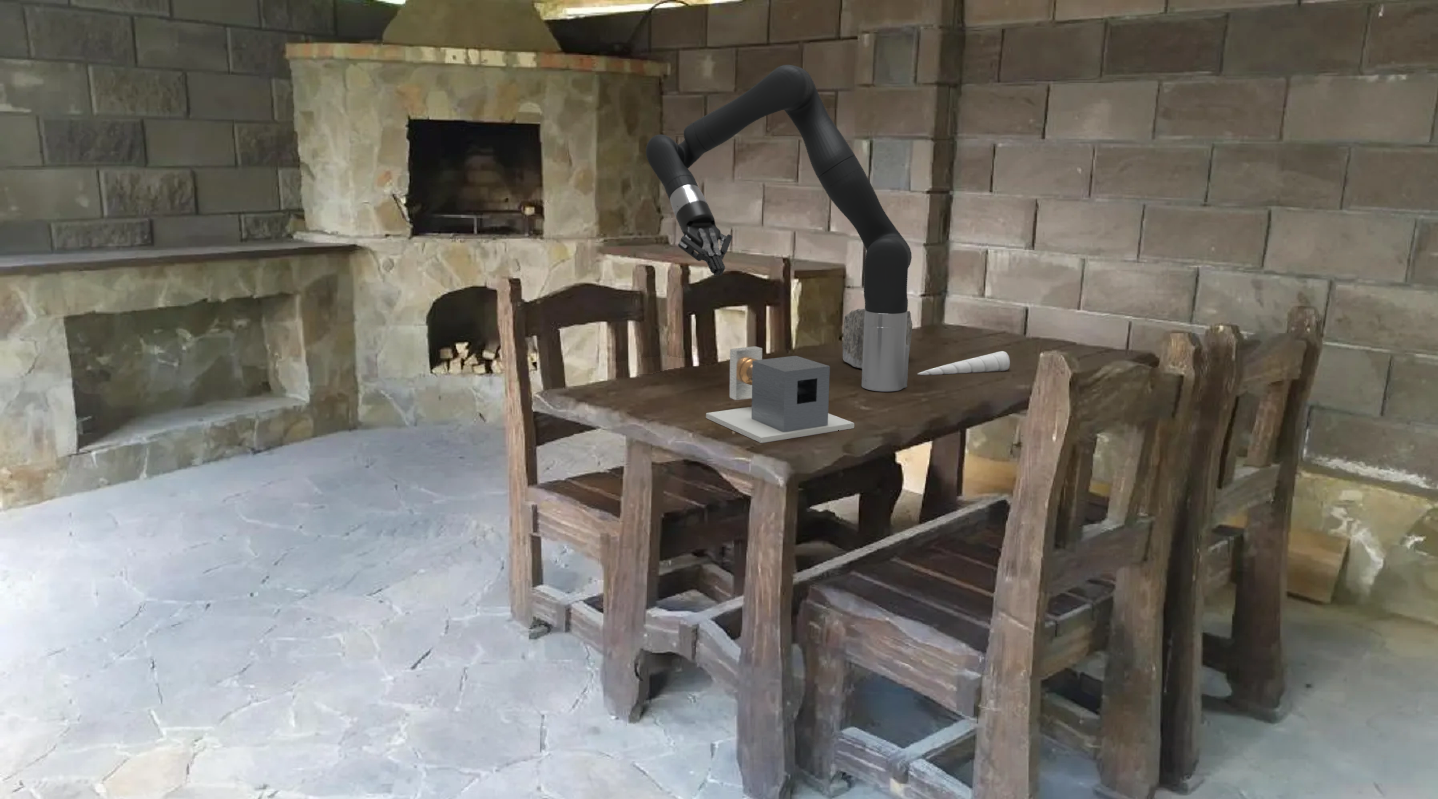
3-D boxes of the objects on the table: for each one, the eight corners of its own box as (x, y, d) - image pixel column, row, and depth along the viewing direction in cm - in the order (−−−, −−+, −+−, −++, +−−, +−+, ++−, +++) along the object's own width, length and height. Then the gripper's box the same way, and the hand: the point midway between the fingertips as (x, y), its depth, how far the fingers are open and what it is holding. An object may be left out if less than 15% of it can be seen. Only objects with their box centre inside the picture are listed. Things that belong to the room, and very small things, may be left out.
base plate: (794, 405, 213) (794, 400, 213) (854, 428, 196) (854, 423, 196) (705, 418, 203) (705, 413, 202) (761, 443, 186) (761, 437, 186)
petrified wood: (887, 354, 267) (890, 296, 263) (931, 366, 252) (934, 305, 248) (827, 360, 258) (829, 301, 254) (868, 374, 243) (871, 311, 240)
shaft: (754, 394, 212) (755, 346, 209) (797, 410, 199) (799, 359, 196) (729, 397, 209) (730, 348, 206) (771, 414, 196) (772, 363, 193)
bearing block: (794, 412, 203) (795, 355, 201) (827, 425, 194) (829, 366, 191) (751, 418, 198) (752, 360, 196) (783, 432, 189) (785, 371, 186)
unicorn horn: (910, 373, 246) (911, 353, 245) (1000, 368, 252) (1001, 349, 250) (918, 377, 241) (919, 357, 240) (1010, 372, 247) (1011, 353, 246)
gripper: (670, 199, 219) (698, 263, 212) (724, 198, 226) (753, 260, 218) (659, 223, 225) (686, 286, 218) (711, 221, 231) (739, 282, 224)
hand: (719, 273), depth 218 cm, fingers closed
